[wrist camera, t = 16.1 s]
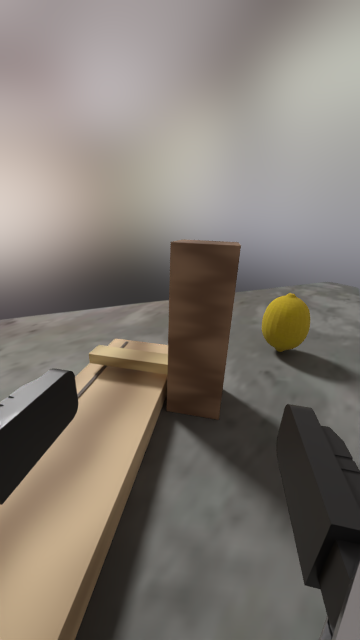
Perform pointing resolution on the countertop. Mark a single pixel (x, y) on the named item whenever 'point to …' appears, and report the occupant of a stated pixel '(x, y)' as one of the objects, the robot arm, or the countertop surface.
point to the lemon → (286, 322)
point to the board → (75, 501)
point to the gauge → (191, 328)
